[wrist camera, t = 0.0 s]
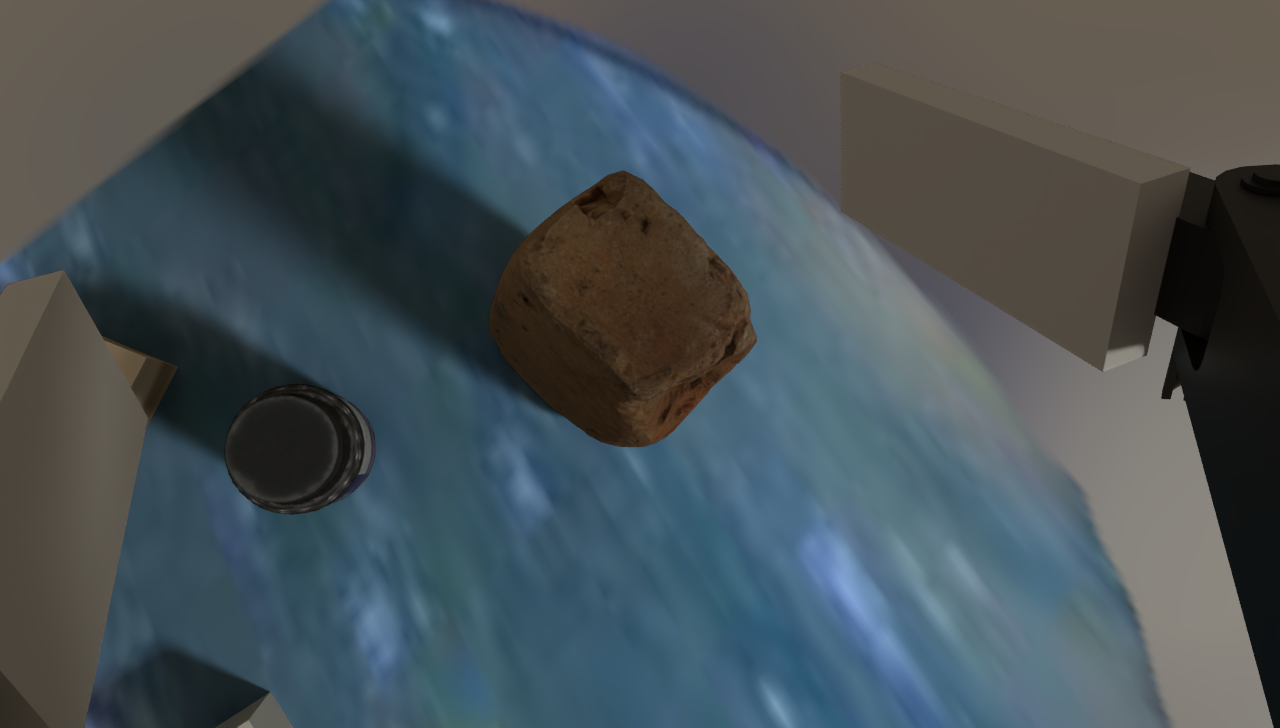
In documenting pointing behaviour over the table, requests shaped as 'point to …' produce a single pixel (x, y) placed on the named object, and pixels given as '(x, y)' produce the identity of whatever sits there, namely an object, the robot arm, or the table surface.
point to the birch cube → (143, 375)
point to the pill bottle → (298, 449)
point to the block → (620, 313)
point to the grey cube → (259, 715)
